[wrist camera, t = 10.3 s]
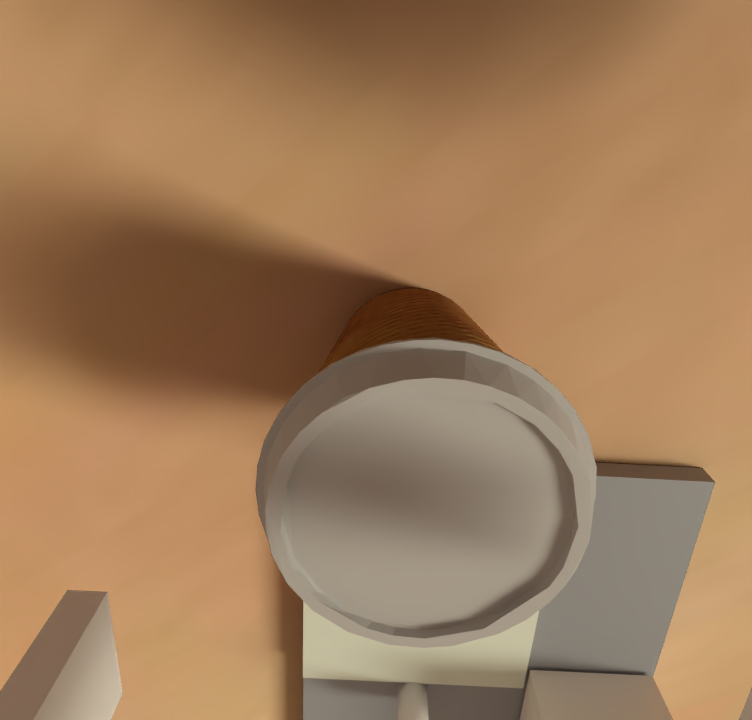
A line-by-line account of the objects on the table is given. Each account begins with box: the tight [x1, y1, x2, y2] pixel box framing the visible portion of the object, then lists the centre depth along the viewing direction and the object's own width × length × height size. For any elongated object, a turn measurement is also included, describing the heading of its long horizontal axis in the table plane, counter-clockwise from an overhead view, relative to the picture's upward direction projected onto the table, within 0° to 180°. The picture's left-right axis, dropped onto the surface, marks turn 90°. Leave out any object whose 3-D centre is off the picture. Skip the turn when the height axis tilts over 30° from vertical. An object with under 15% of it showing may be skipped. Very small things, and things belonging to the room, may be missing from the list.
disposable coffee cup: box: [256, 288, 597, 648], centre depth 21 cm, size 10×10×12 cm
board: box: [303, 462, 715, 720], centre depth 30 cm, size 21×19×5 cm
